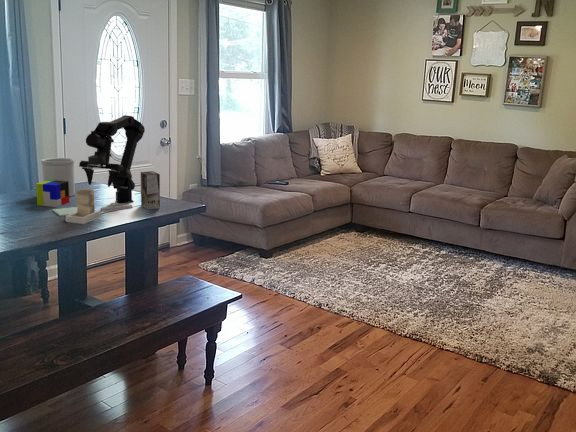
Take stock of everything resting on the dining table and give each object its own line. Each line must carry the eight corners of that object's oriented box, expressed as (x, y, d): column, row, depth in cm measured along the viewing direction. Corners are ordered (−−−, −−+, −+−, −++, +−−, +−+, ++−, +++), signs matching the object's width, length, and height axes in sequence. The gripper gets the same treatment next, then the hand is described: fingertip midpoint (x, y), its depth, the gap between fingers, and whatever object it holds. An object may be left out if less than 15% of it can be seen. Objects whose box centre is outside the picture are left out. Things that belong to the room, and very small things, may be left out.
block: (84, 216, 254) (83, 188, 251) (94, 217, 253) (93, 189, 250) (77, 218, 250) (76, 191, 247) (88, 220, 249) (87, 192, 246)
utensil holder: (39, 193, 292) (37, 158, 288) (70, 190, 301) (68, 156, 297) (48, 199, 281) (46, 162, 277) (80, 196, 290) (78, 160, 286)
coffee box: (160, 208, 273) (160, 174, 269) (146, 209, 270) (146, 174, 266) (154, 204, 281) (153, 170, 277) (140, 205, 277) (140, 171, 273)
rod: (130, 208, 273) (130, 204, 273) (132, 208, 272) (132, 205, 272) (101, 211, 265) (100, 207, 265) (102, 212, 264) (102, 208, 263)
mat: (77, 208, 267) (77, 206, 267) (86, 213, 259) (86, 212, 259) (52, 210, 261) (52, 209, 260) (60, 216, 252) (60, 215, 252)
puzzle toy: (57, 207, 268) (56, 185, 265) (37, 205, 270) (35, 183, 267) (69, 202, 277) (68, 181, 275) (50, 200, 279) (48, 179, 277)
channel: (83, 214, 257) (82, 209, 256) (100, 216, 255) (100, 210, 254) (65, 221, 244) (65, 216, 243) (84, 223, 242) (83, 218, 242)
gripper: (74, 145, 256) (69, 181, 255) (114, 149, 252) (109, 185, 252) (88, 150, 267) (83, 184, 266) (126, 153, 263) (121, 188, 263)
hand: (99, 185), depth 261 cm, fingers open, 9 cm apart
